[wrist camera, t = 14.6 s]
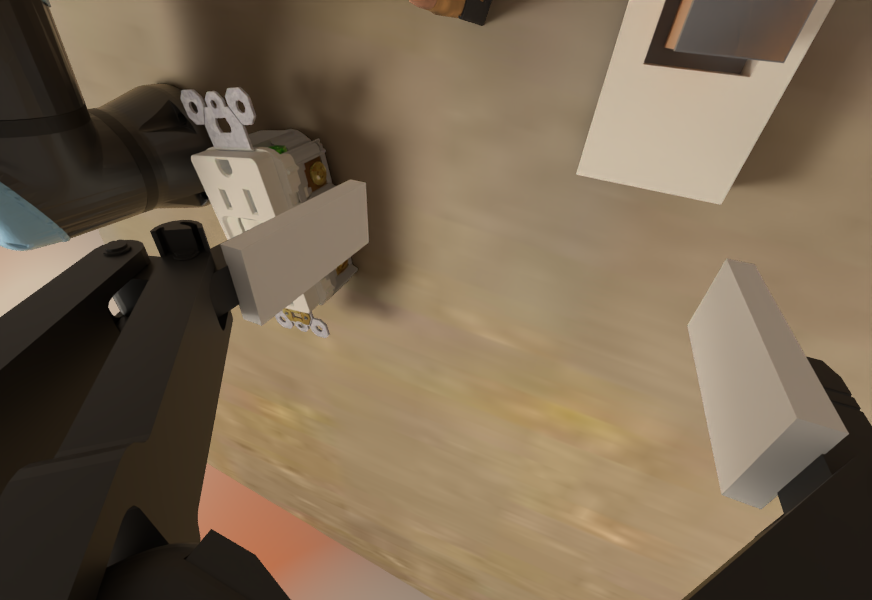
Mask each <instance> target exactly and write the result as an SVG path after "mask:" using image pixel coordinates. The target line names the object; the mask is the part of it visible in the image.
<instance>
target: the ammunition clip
mask: <svg viewBox="0 0 872 600" xmlns="http://www.w3.org/2000/svg"><path fill="white" fill-rule="evenodd" d="M409 1H410V2H411V3H412V4H414V5H415V6H417V7H419V8H424V9H426V10H429V11H431V12H432V13H434V14H436V15H441V16H447V17H454V18H459V19H462V20H465V21H468V22H472V23H475V24H478V25H481V26H483V25H484V23H485V20H486V17H487V14H488V10H489V7H490V4H491V1H492V0H409Z"/></svg>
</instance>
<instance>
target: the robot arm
mask: <svg viewBox="0 0 872 600" xmlns="http://www.w3.org/2000/svg"><path fill="white" fill-rule="evenodd" d="M49 7H51V5H50V2H49V0H0V246H2V247H5V248H7V249H12V250H19V251H27V250H32V249H36V248H39V247H43V246H47V245H51V244H55V243H58V242H66V241H69V240H70V238H73V237H76V236H79V235H81V234H84V233H87V232H90V231H93V230H96V229H99V228H101V227H104V226H107V225H110V224H113V223H116V222H118V221H121V220H124V219H127V218H130V217H133V216H135V215H138V214H141V213H144V212H147V211H149V210H153V209H156V208H194V207H203V206H207V205H209V204H211V202H210V200H209V198H208V196H207V194H206V192H205V189H204V187H203V185H202V183H201V181H200V179H199V176H198V174H197V172H196V170H195V168H194V166H193V163H192V161H191V156H192V155H194V154H197V153H200V152H203V151H206V150H207V149H208V148H211V147H214V146H213V144H212V141H211V139H210V136H209V134H208V132H207V129H206V127H205V125H196V124H195V123H194V122H193V121H192V120H191V119H190V118H189V117H188V115H187V112H186V110H185V108H184V105H183V103H182V101H181V99H180V97H181V90H180V89H178V88H176V87H174V86H171V85H168V84H151V85H142V86H139V87H136V88H134V89H132V90H130V91H128V92H127V93H125V94H123V95H121V96H119V97H117V98H116V99H114V100H112V101H110V102H108V103H106V104H105V105H103V106H101V107H99V108H93V109H87V107H86V105H85V101H84V99H83V96H82V93H81V91H80V88H79V86H78V83H77V80H76V78H75V75H74V72H73V70H72V67H71V64H70V62H69V59H68V56H67V54H66V51H65V48H64V46H63V43H62V41H61V38H60V35H59V33H58V30H57V27H56V25H55V22H54V19H53V17H52V14H51V11H50V9H49ZM191 106H192V108H193V110H194V111H195V112H196V113H198V109H197V106H196V105H195V104H194V102H191ZM150 232H151V234H152V237H153V239H154V241H155V244H156V246H157V249H158V251H159V253H160V256H161V257H156V256H148V254H147V252H146V249H145V247H144V245H143V243H142V242H139V241H135V240H117V241H111V242H109V243H108V244H105V245H102V246H100V247H98V248H96V249H94V250H93V251H92V252H90V253H89V254H87V255H86V256H85V257H83V258H82V259H80V260H79V261H78V262H76V263H75V264H74V265H72V266H71V267H69V268H68V269H67V270H65V271H64V272H62V273H61V274H60V275H59V276H57V277H55V278H54V279H53V280H51V281H50V282H49V283H47V284H46V285H44V286H43V287H42V288H40V289H39V290H37V291H36V292H35V293H33V294H32V295H30V296H29V297H28V298H26V299H25V300H24V301H22V302H21V303H20V304H18V305H17V306H15V307H14V308H13V309H11V310H10V311H8V312H7V313H6V314H4V315H3V316H1V317H0V600H290V599H289V597H288V596H287V595H286V593H285V592H284V591H283V590H282V588H281V587H280V586H279V585H278V583H277V582H276V581H275V579H274V578H273V577H272V576H271V574H270V573H269V572H268V570H267V569H266V568H265V567H264V565H263V564H262V563H261V562H260V560H259V559H258V558H257V557H256V555H254V554H253V553H251V552H249V551H248V550H246V549H244V548H243V547H241V546H239V545H237V544H236V543H234V542H232V541H231V540H229V539H227V538H226V537H224V536H222V535H220V534H219V533H217V532H216V531H214V530H212V529H211V530H210V531H209V532H208V534H207V535H206V536H205V537H204V538H203V540H202V541H201V542H200V533H199V527H198V506H199V501H200V496H201V491H202V485H203V479H204V474H205V469H206V463H207V458H208V453H209V447H210V442H211V436H212V431H213V425H214V420H215V414H216V409H217V404H218V398H219V393H220V387H221V382H222V376H223V371H224V365H225V360H226V355H227V349H228V344H229V338H230V333H231V327H232V322H233V317H232V313H231V309H233V308H234V307H236V306H237V305H238V304H239V306H240V309H241V313H242V316H243V319H245V320H248V321H250V322H253V323H256V324H259V325H261V326H262V325H263V324H265V323H266V322H267V321H269V320H270V319H271V318H272V317H274V316H275V315H276V314H278V313H279V312H280V311H281V310H283V309H284V308H285V307H287V306H288V305H289V304H290V303H292V302H293V301H294V300H296V299H297V298H298V297H299V296H301V295H302V294H303V293H305V292H306V291H307V290H308V289H310V288H311V287H312V286H314V285H315V284H316V283H317V282H319V281H320V280H321V279H323V278H324V277H325V276H326V275H328V274H329V273H330V272H332V271H333V270H334V269H335V268H337V267H338V266H339V265H341V264H342V263H343V262H344V261H346V260H347V259H348V258H350V257H351V256H352V255H353V254H355V253H356V252H357V251H359V250H360V249H361V248H362V247H364V246H365V245H366V244H368V243H369V233H368V214H367V195H366V183H365V182H360V181H356V180H351V179H350V180H348V181H346V182H344V183H342V184H340V185H338V186H336V187H334V188H332V189H330V190H328V191H326V192H324V193H322V194H320V195H318V196H316V197H314V198H312V199H310V200H308V201H306V202H304V203H302V204H300V205H298V206H296V207H294V208H292V209H290V210H288V211H286V212H284V213H282V214H280V215H278V216H276V217H274V218H272V219H270V220H268V221H266V222H264V223H261V224H259V225H257V226H255V227H253V228H251V229H250V230H247V231H245V232H243V233H241V234H240V235H237V236H235V237H233V238H231V239H229V240H227V241H225V242H223V243H221V244H219V245H217V246H215V247H213V248H211V249H210V247H209V244H208V241H207V238H206V235H205V232H204V229H203V226H202V224H201V223H199V222H197V221H192V220H179V221H171V222H168V223H164V224H161V225H159V226H157V227H155V228H154V229H152V230H151V231H150ZM112 297H113V299H114V301H115V302H116V304H117V306H118V308H119V310H120V312H119V313H118V314H117V315H116V316H113V315H112V314H111V312H110V310H109V308H108V305H109V301H110V299H111V298H112ZM687 326H688V331H689V336H690V341H691V346H692V351H693V356H694V361H695V366H696V371H697V376H698V380H699V385H700V390H701V395H702V400H703V405H704V410H705V415H706V420H707V425H708V430H709V435H710V440H711V445H712V450H713V455H714V460H715V464H716V469H717V474H718V479H719V484H720V489H721V494H722V495H724V496H726V497H729V498H732V499H734V500H737V501H740V502H743V503H745V504H748V505H751V506H753V507H756V508H759V509H762V508H763V507H765V506H766V505H767V504H768V503H769V502H770V501H772V500H773V499H774V498H775V497H776V496H777V495H778V497H779V500H780V503H781V506H782V509H783V512H784V514H783V515H782V516H780V517H779V518H778V519H777V520H775V521H774V522H773V523H772V524H770V525H769V526H768V527H767V528H765V529H764V530H763V531H762V532H760V533H759V534H758V535H757V536H755V538H754V539H753V540H752V541H751V542H749V543H748V544H747V545H746V546H745V547H743V548H742V549H741V550H740V551H739V552H738V553H736V554H735V555H734V556H733V557H732V558H730V559H729V560H728V561H727V562H726V563H725V564H723V565H722V566H721V567H720V568H719V569H718V570H716V571H715V572H714V573H713V574H712V575H710V576H709V577H708V578H707V579H706V580H705V581H703V582H702V583H701V584H700V585H699V586H697V587H696V588H695V589H694V590H693V591H692V592H690V593H689V594H688V595H687V596H686V597H684V598H683V599H682V600H872V426H871V424H870V423H869V421H868V419H867V418H866V416H865V415H864V413H863V412H861V411H860V409H861V408H860V407H859V405H858V404H857V402H856V400H855V399H854V398H853V397H851V395H852V394H851V392H850V391H849V389H848V388H847V386H846V384H845V383H844V381H843V380H842V378H841V377H840V376H839V375H838V374H837V373H835V372H834V371H833V370H832V369H831V368H830V367H829V366H828V365H826V364H825V363H824V362H823V361H821V360H817V359H814V358H810V357H806V356H805V354H804V352H803V350H802V349H801V347H800V345H799V343H798V341H797V340H796V338H795V336H794V334H793V332H792V331H791V329H790V327H789V325H788V323H787V322H786V320H785V318H784V316H783V314H782V313H781V311H780V309H779V307H778V306H777V304H776V302H775V300H774V298H773V297H772V295H771V293H770V291H769V289H768V288H767V286H766V284H765V282H764V280H763V279H762V277H761V275H760V273H759V271H758V270H757V268H756V266H755V264H751V263H746V262H742V261H737V260H732V259H727V258H726V260H725V261H724V263H723V265H722V267H721V268H720V270H719V272H718V274H717V275H716V277H715V279H714V280H713V282H712V284H711V286H710V287H709V289H708V291H707V293H706V294H705V296H704V298H703V299H702V301H701V303H700V305H699V306H698V308H697V310H696V311H695V313H694V315H693V317H692V318H691V320H690V322H689V324H688V325H687Z"/></svg>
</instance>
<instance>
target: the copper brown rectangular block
mask: <svg viewBox="0 0 872 600" xmlns="http://www.w3.org/2000/svg"><path fill="white" fill-rule="evenodd" d="M817 1H818V0H681V1H680V4H679V7H678V9H677V12H676V15H675V17H674V20H673V23H672V26H671V28H670V31H669V34H668V36H667V39H666V42H665V44H664V47H665V48H670V49H674V50H673V51H676V52H686V53H695V54H704V55H713V56H722V57H731V58H740V59H750V60H759V61H768V62H777V63H784V62H785V60H786V58H787V56H788V55H789V53H790V51H791V49H792V47H793V45H794V43H795V42H796V40H797V38H798V36H799V34H800V32H801V30H802V29H803V27H804V25H805V23H806V21H807V19H808V17H809V16H810V14H811V12H812V10H813V8H814V6H815V4H816V3H817Z"/></svg>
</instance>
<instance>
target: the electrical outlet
mask: <svg viewBox="0 0 872 600" xmlns="http://www.w3.org/2000/svg"><path fill="white" fill-rule="evenodd" d="M225 98H226V101H227V104H228V106H226V103H225V100H224V98H223V97H222V96H221V95H220V94H219V93H218V92H216V91H208V92H206V96H205V101H206V104H207V106H208V107H206V105H205V102H204V100H203V98H202V96H201V95H200V94H199V93H197V92H196V91H195V90H194V89H186V90H182V91H181V97H180V99H181V101H182V103H183V105H184V108H185V110H186V112H187V115H188V117H189V118H190V119H191V120H192V121H193V122H194V123H195V124H196V125H205V127H206V129H207V132H208V134H209V136H210V139H211V141H212V144H213V146H214V147H211V148H208V149H207V150H206V151H203V152H200V153H197V154H194V155H192V156H191V161H192V163H193V166H194V168H195V170H196V172H197V174H198V176H199V179H200V181H201V183H202V185H203V187H204V189H205V192H206V194H207V196H208V198H209V200H210V202H211V205H212V207H213V209H214V211H215V213H216V216H217V218H218V220H219V222H220V224H221V226H222V229H223V231H224V233H225V235H226V237H227V239H228V240H229V239H231V238H233V237H235V236H237V235H240V234H241V233H243V232H245V231H247V230H250V229H251V228H253V227H255V226H257V225H259V224H261V223H264V222H266V221H268V220H270V219H272V218H274V217H276V216H278V215H280V214H282V213H284V212H286V211H288V210H290V209H292V208H294V207H296V206H298V205H300V204H302V203H304V202H306V201H308V200H310V199H312V198H314V197H316V196H318V195H320V194H322V193H324V192H326V191H328V190H330V189H332V188H334V187H336V186H335V185H333V184H332V180H331V176H330V172H329V168H328V165H327V161H326V157H325V152H326V150H325V149H324V148H323V147H322V146H323V145H322V143H320V139H319V138H318V139H315V140H313V141H311V140H310V139H309V138H308V137H307V136H305V135H304V134H303V133H302V132H300V131H298V130H295V129H287V130H260V131H257V132H254V133H251V134H249V135H248V133H247V130H246V127H245V125H253V124H254V121H255V118H256V114H255V111H254V108H253V105H252V102H251V99H250V96H249V95H248V94H247V93H246V92H245V91H244V90H243V89H242V88H241V87H232V88H227V91H226V95H225ZM213 100H214V101H215V103H216V105H217V108H216V107H215V106H214V104H213ZM239 100H240V101H241V102H242V103H243V104H244V106H245V113H244V112H242V111H241V110H240V109H239V107H238V101H239ZM191 102H194V104H195V105H196V106H197V109H198V113H196V112H195V111H194V110H193V108H192V106H191ZM217 118H226V120H227V122H228V123H229V125H230V127H231V132H223V131H222V130H221V128H220V127H219V124H218V119H217ZM357 270H358V268H356V267H355V266H354V265H352V260H351V257H350V258H348V259H347V260H346V261H344V262H343V263H342V264H341V265H339V266H338V267H337V268H335V269H334V270H333V271H332V272H330V273H329V274H328V275H326V276H325V277H324V278H323V279H321V280H320V281H319V282H317V283H316V284H315V285H314V286H312V287H311V288H310V289H308V290H307V291H306V292H305V293H303V294H302V295H301V296H299V297H298V298H297V299H296V300H294V301H293V302H292V303H290V304H289V305H288V306H287V307H285V308H284V309H283V310H281V311H280V312H279V313H278V314H276V315H275V317H276V319H277V321H278V323H279V324H280V325H282V326H283V327H286V328H289V329H291V328H292V327H293V326H294V323H295V325H296V327H297V328H299V329H300V330H301V331H305V332H306V331H307V330H308V329H309V326H311V330H312V332H314V333H315V334H316V335H317V336H320V337H323V338H326V337H327V336H328V335H329V334H330V333H329V330H328V327H327V324H325V323H324V322H323V321H322V320H321V319H317V318H314V317H313V314H312V310H313V309H314V308H315V307H316V306H318V305H323V304H324V303H325V302H326V301H327V300H329V299H330V298H331V297H332V296H333V295H334V294H335V293H336V292H337V291H338V290H339V289H340V288H341V287H342V286H343V285H344V284H345V283H346V282H348V281H349V279H350V277H351V276H353V275H354V274H355V273H356V272H357ZM293 312H294V313H298V314H299V312H300V314H301V316H302V318H300V317H296V316H295V315H294V313H293ZM281 316H282V317H284V318H285V319H286V321H284V320H283V319H282V318H281ZM293 322H294V323H293ZM300 324H301V325H302V326H303V327H302V326H301V325H300ZM317 325H318V326H320V327H321V328H322V329H323V331H321V330H320V329H318V327H317Z"/></svg>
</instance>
